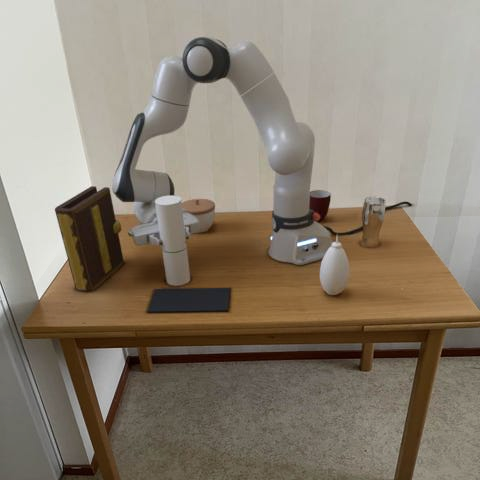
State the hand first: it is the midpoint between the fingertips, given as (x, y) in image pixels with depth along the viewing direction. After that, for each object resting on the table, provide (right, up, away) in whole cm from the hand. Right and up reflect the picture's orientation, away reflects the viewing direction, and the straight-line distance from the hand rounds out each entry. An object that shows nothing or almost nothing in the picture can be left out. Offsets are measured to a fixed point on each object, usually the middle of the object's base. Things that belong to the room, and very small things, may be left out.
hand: (174, 239), depth 140 cm
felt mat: (+5, -17, -2) cm, 18 cm away
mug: (+46, +14, +42) cm, 64 cm away
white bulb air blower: (+45, -16, -2) cm, 48 cm away
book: (-24, -9, +13) cm, 29 cm away
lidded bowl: (+4, +10, +39) cm, 41 cm away
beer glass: (+62, +2, +23) cm, 66 cm away
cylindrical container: (0, -11, +8) cm, 14 cm away
